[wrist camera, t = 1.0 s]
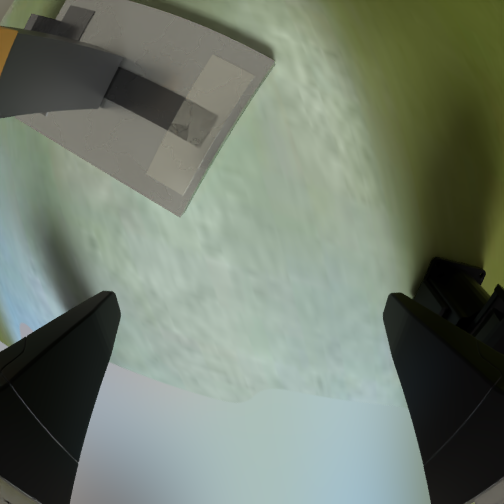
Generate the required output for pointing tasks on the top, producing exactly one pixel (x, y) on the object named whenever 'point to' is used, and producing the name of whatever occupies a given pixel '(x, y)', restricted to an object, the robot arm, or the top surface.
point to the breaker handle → (51, 73)
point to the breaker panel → (153, 96)
